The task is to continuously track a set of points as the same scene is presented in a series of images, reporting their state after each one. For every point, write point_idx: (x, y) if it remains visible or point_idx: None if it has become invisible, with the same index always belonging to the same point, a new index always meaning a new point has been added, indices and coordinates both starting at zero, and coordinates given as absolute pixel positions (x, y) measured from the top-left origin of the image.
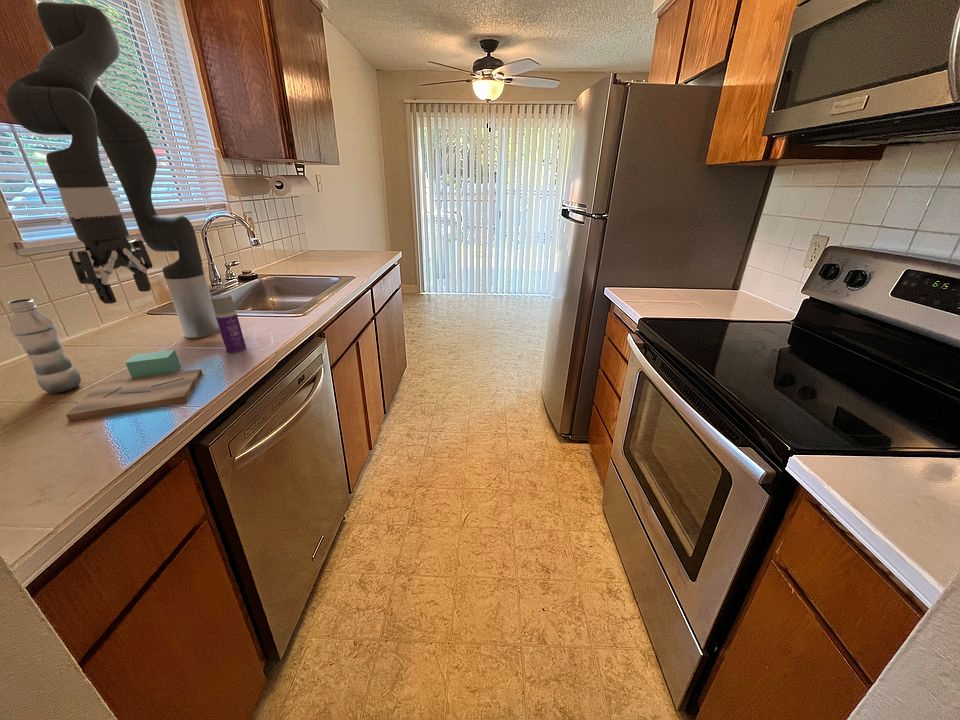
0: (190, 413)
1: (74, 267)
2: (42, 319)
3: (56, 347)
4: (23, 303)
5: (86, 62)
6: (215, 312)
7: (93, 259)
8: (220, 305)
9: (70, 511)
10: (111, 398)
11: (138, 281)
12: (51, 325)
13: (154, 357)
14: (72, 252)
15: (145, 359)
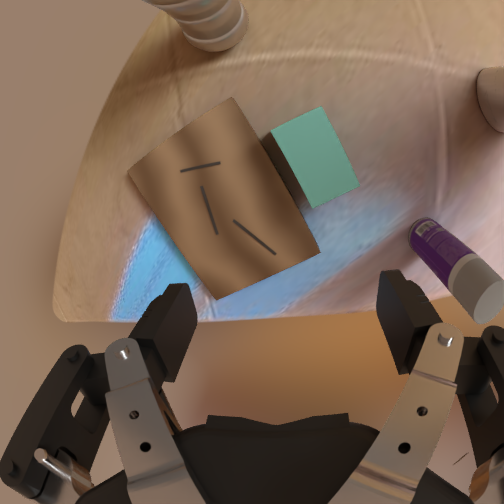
0: None
1: (30, 409)
2: None
3: (199, 17)
4: None
5: None
6: (460, 274)
7: (117, 481)
8: (464, 303)
9: (74, 319)
10: (182, 188)
11: (394, 316)
12: None
13: (308, 176)
14: (15, 482)
15: (295, 163)
